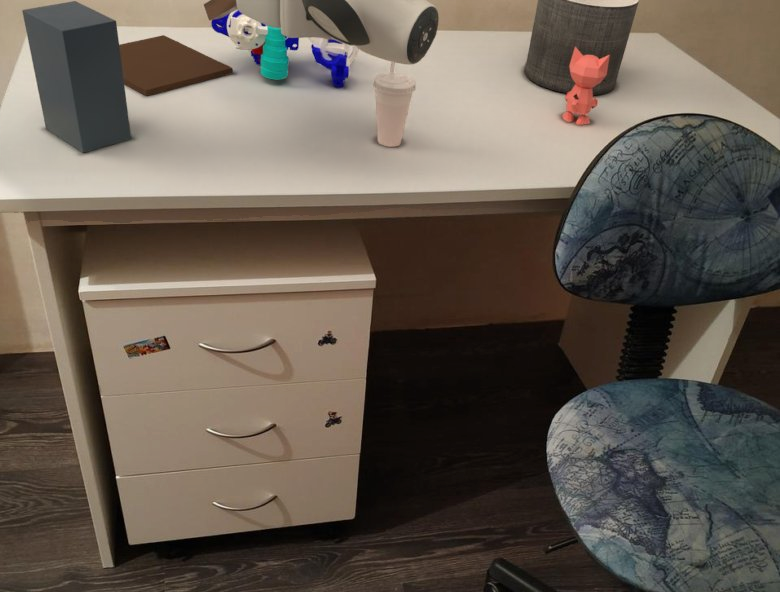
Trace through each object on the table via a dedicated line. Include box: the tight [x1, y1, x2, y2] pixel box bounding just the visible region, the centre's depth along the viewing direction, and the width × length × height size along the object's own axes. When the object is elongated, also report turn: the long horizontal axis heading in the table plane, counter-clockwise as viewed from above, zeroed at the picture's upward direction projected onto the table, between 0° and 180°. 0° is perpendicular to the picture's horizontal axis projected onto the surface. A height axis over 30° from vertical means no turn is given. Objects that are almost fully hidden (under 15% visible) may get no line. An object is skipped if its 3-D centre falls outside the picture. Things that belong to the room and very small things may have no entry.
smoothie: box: [372, 61, 416, 148], centre depth 122 cm, size 6×6×14 cm
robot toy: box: [210, 9, 360, 88], centre depth 141 cm, size 16×12×25 cm
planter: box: [523, 0, 640, 96], centre depth 151 cm, size 18×18×16 cm
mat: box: [119, 34, 233, 97], centre depth 141 cm, size 18×20×1 cm
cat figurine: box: [561, 47, 610, 126], centre depth 136 cm, size 7×7×12 cm
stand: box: [21, 0, 132, 154], centre depth 114 cm, size 8×10×17 cm
